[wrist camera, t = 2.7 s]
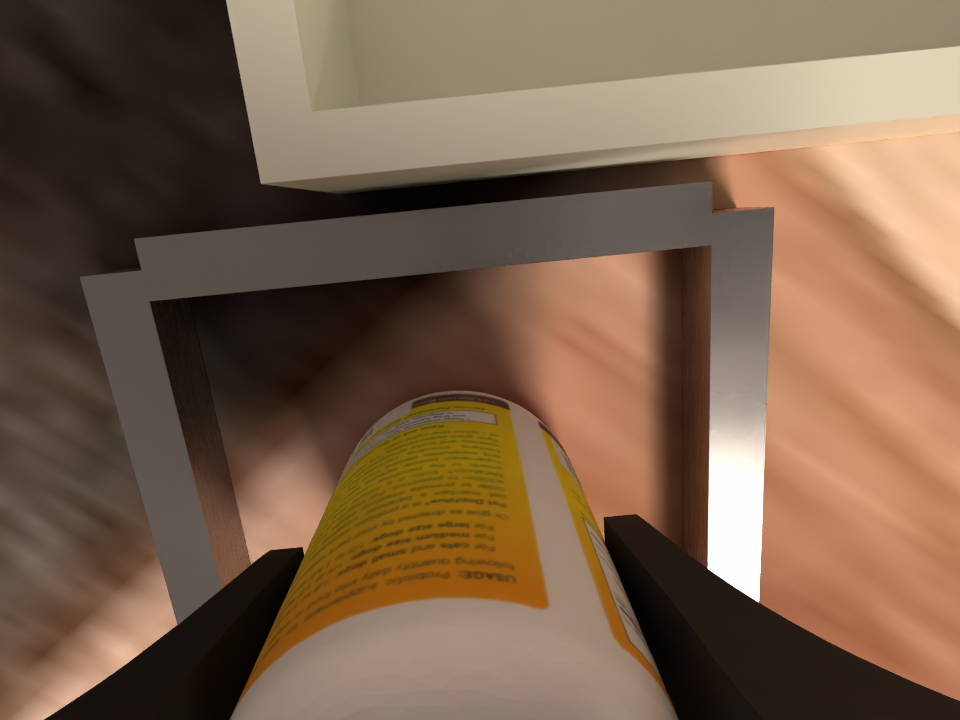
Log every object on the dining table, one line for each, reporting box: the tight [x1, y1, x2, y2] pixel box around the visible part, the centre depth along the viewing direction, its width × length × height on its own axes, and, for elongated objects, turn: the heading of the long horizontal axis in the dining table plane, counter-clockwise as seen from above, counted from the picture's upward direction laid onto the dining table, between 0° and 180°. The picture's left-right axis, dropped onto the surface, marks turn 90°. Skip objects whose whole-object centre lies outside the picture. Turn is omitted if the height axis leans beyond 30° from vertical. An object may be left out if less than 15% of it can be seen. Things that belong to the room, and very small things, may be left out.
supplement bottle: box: [230, 391, 679, 720], centre depth 9 cm, size 6×6×10 cm
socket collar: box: [80, 181, 774, 624], centre depth 13 cm, size 13×13×2 cm
